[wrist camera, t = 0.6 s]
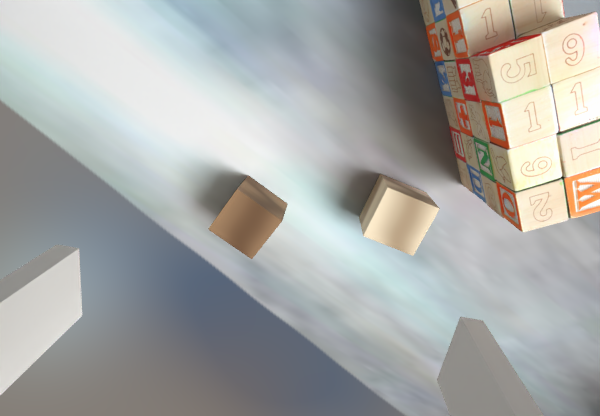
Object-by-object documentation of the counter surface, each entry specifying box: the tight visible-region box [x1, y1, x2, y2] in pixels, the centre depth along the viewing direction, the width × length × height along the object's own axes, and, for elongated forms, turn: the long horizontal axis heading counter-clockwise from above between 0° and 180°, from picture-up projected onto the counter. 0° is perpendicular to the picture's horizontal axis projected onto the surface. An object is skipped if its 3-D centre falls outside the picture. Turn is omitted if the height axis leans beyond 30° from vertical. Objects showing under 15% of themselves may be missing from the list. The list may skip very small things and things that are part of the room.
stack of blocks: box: [419, 0, 600, 232], centre depth 27 cm, size 21×6×12 cm, turn 20°
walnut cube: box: [209, 176, 287, 259], centre depth 37 cm, size 5×5×5 cm
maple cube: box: [359, 174, 440, 256], centre depth 36 cm, size 5×5×5 cm
